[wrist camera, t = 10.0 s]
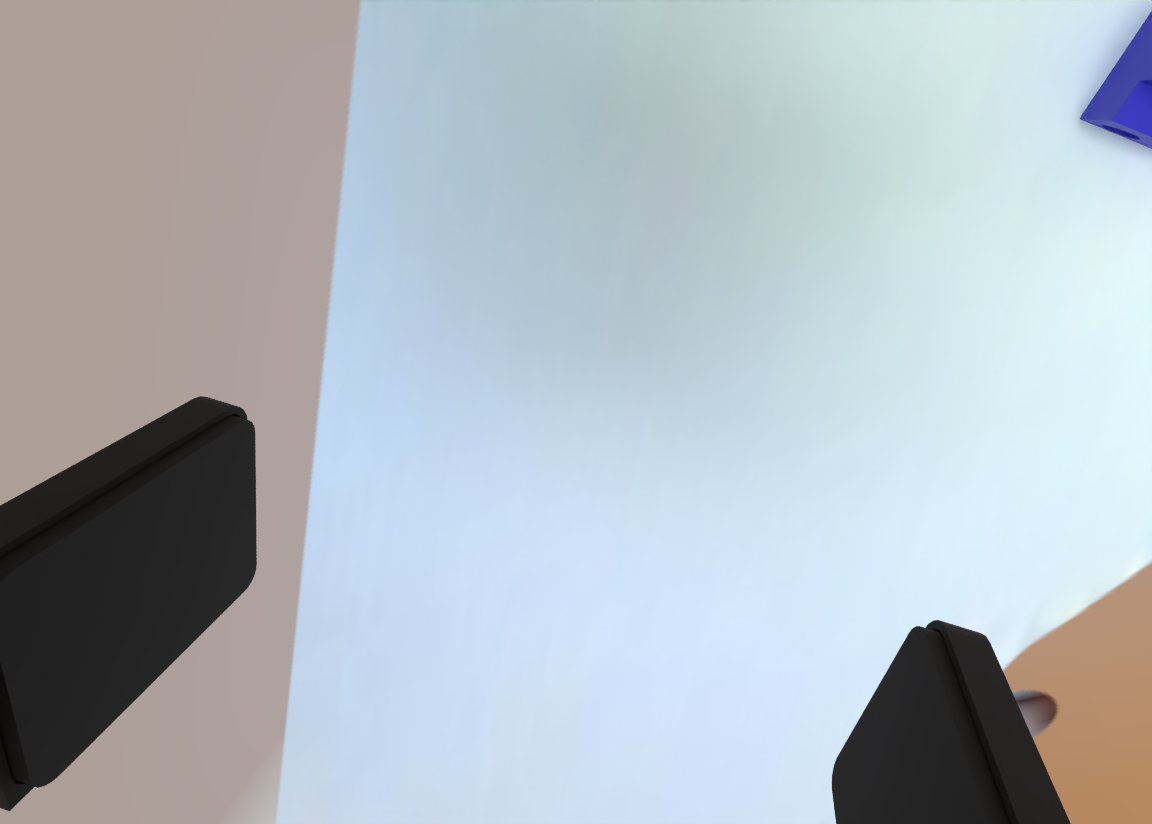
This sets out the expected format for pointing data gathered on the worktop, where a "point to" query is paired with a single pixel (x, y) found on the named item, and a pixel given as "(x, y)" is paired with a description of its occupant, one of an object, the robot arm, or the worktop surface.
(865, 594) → the worktop surface
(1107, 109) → the cable clip
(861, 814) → the robot arm
